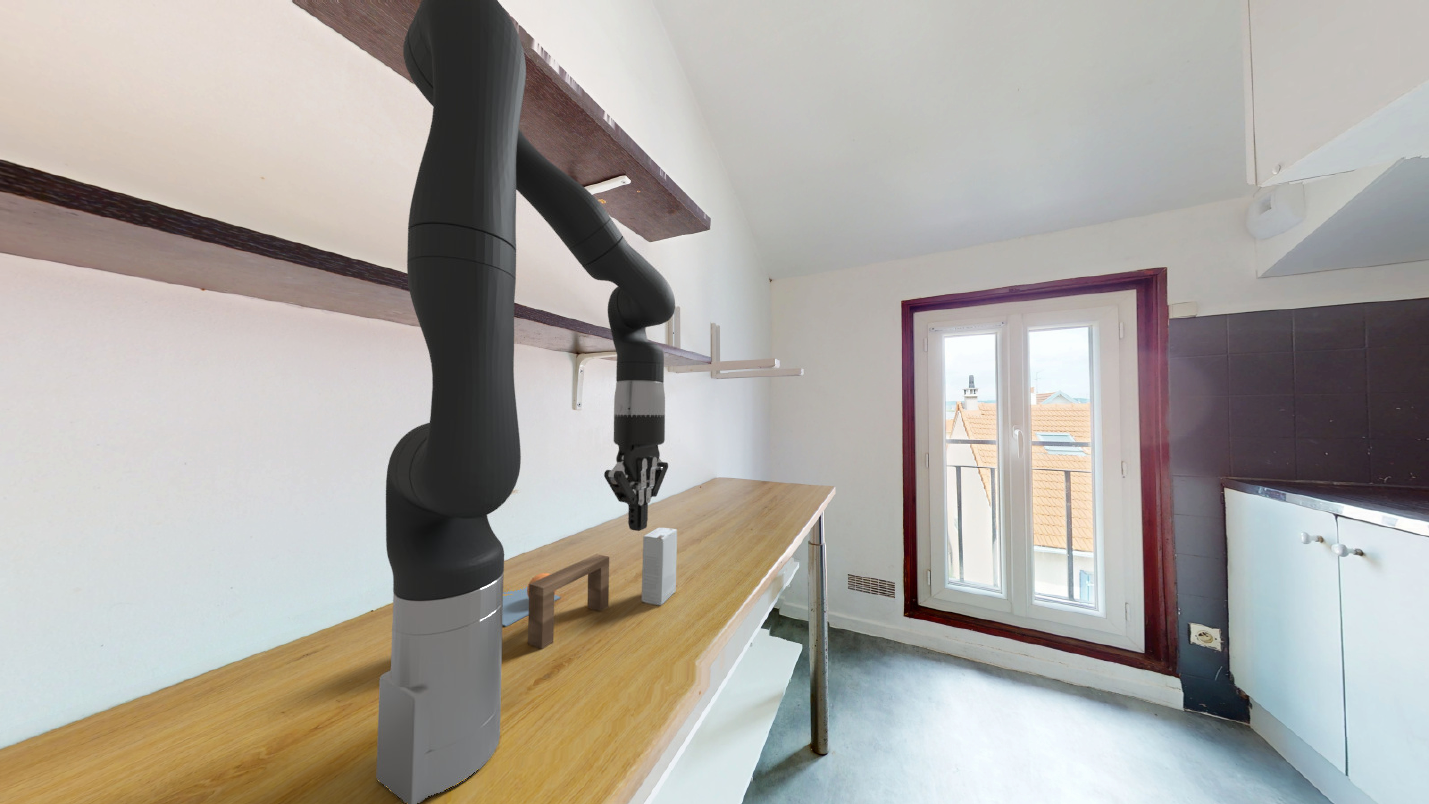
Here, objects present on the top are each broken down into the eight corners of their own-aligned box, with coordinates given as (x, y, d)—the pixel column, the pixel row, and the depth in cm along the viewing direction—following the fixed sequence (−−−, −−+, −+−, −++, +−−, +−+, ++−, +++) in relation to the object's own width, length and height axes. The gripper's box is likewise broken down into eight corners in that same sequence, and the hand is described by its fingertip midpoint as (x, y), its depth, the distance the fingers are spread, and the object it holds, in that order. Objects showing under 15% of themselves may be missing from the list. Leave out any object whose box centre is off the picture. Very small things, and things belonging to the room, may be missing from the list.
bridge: (608, 606, 69) (609, 556, 69) (542, 649, 56) (543, 588, 57) (595, 602, 70) (596, 553, 71) (527, 643, 58) (529, 584, 58)
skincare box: (656, 588, 76) (657, 526, 77) (677, 592, 75) (678, 528, 75) (640, 603, 70) (641, 535, 71) (662, 607, 69) (663, 538, 69)
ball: (518, 588, 71) (530, 614, 69) (527, 575, 68) (539, 600, 66) (544, 576, 75) (556, 600, 73) (553, 563, 72) (565, 587, 70)
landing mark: (505, 626, 62) (506, 625, 62) (463, 610, 67) (463, 609, 67) (560, 597, 72) (560, 596, 72) (520, 585, 77) (520, 584, 77)
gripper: (632, 412, 51) (630, 546, 51) (683, 413, 63) (682, 521, 62) (588, 412, 54) (586, 537, 54) (645, 412, 66) (644, 515, 66)
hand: (638, 528), depth 58 cm, fingers closed
